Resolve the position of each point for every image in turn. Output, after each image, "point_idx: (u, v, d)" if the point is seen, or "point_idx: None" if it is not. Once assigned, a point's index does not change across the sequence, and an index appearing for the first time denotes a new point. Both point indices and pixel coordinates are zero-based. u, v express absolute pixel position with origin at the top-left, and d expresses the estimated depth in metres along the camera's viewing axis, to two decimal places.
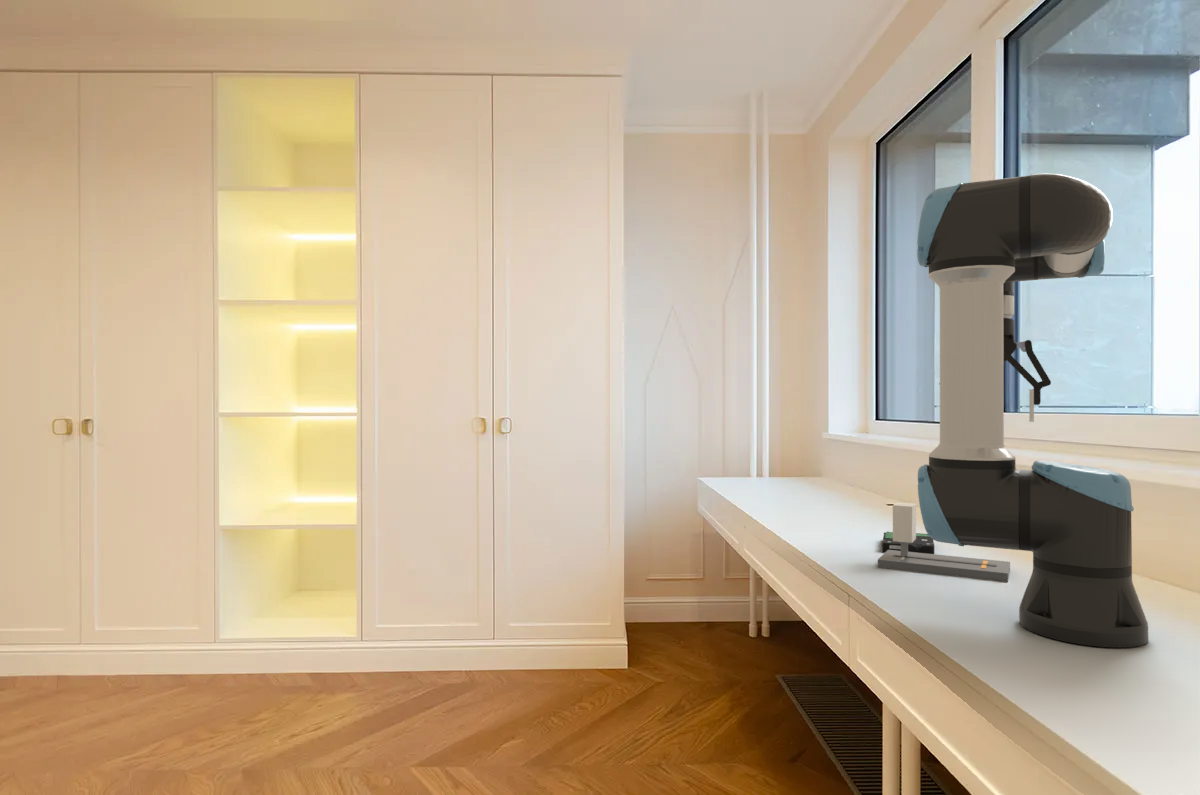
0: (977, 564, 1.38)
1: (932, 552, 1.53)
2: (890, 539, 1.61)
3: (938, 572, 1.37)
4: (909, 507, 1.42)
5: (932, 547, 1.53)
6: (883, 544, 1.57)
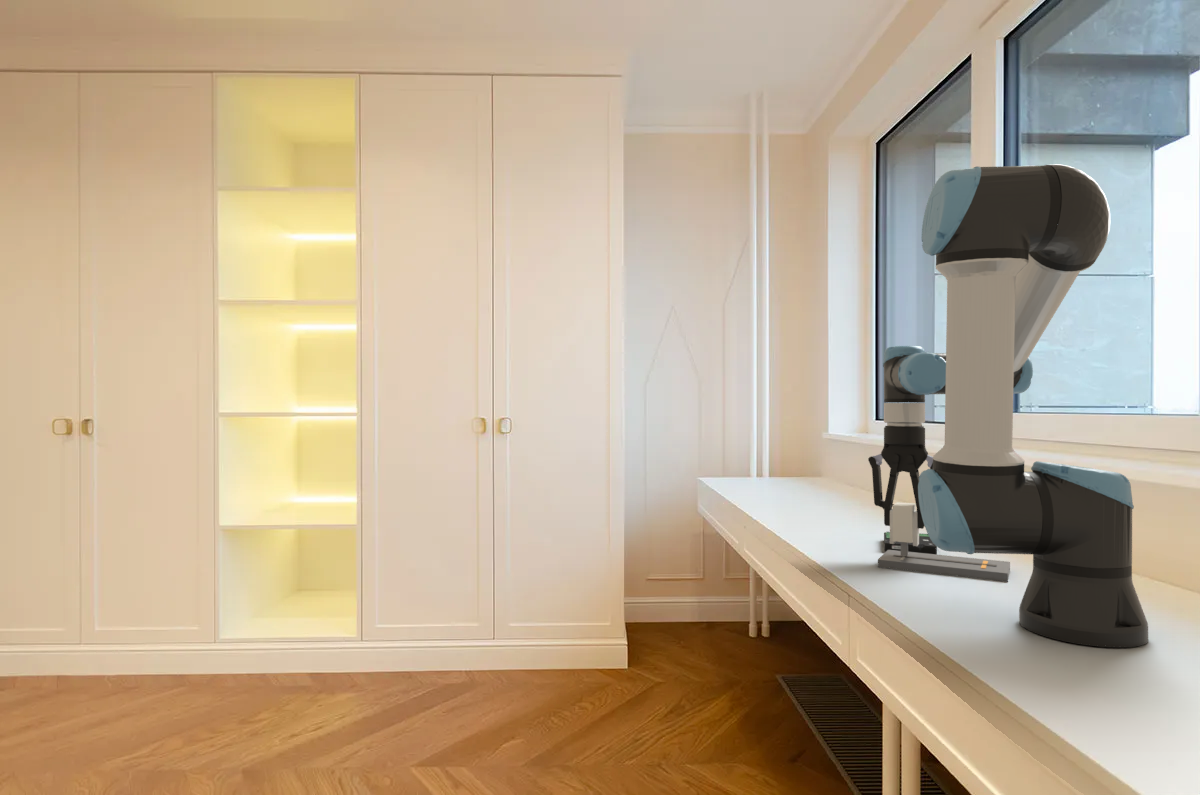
0: (977, 564, 1.38)
1: (935, 552, 1.53)
2: None
3: (938, 572, 1.37)
4: (909, 507, 1.42)
5: (935, 547, 1.53)
6: (885, 544, 1.56)
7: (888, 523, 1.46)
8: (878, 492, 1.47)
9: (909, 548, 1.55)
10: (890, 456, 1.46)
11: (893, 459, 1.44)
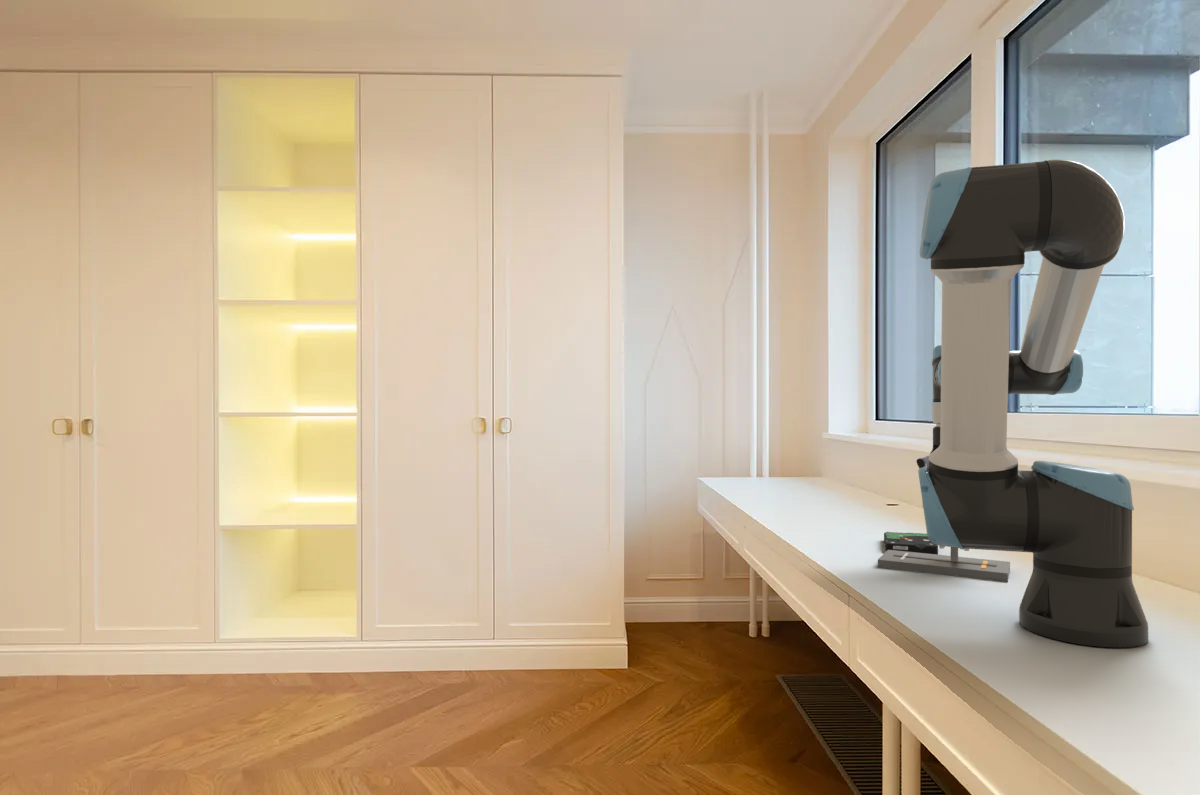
0: (977, 564, 1.38)
1: (936, 552, 1.53)
2: (892, 539, 1.61)
3: (938, 572, 1.37)
4: None
5: (936, 547, 1.53)
6: (887, 545, 1.56)
7: None
8: None
9: (910, 548, 1.55)
10: None
11: None
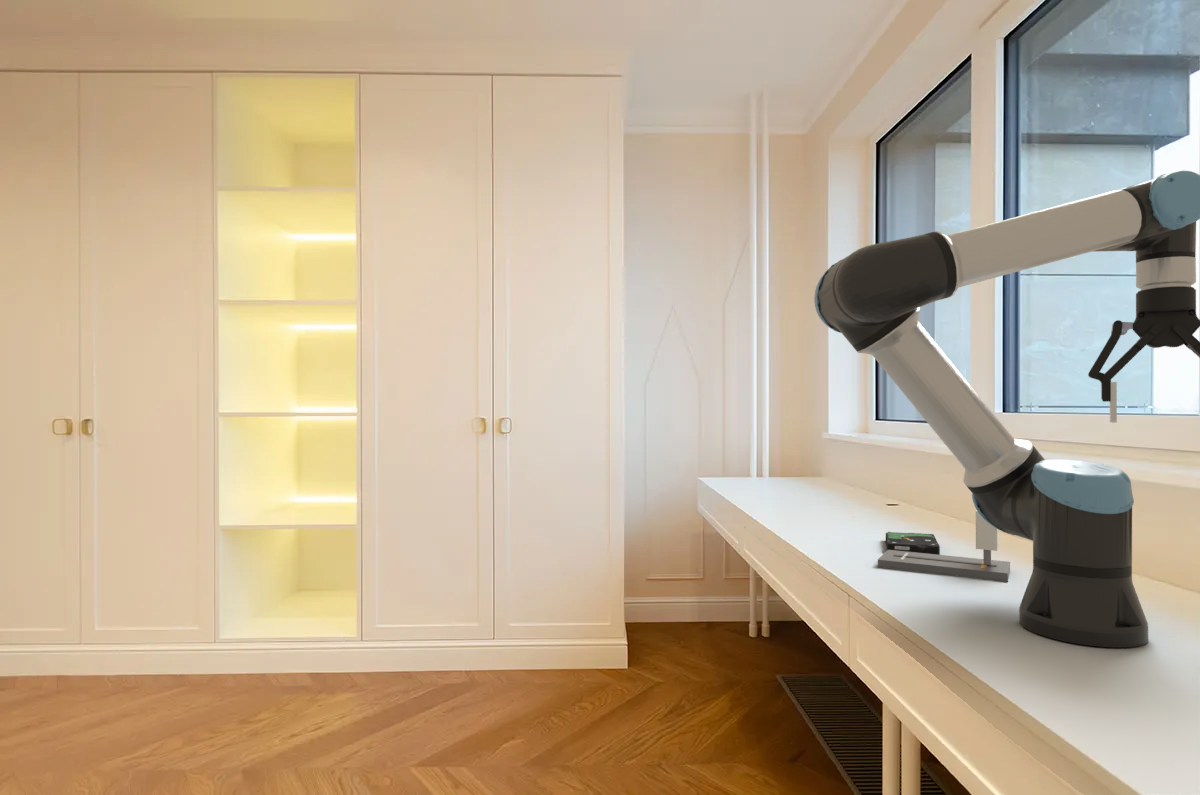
0: (977, 564, 1.38)
1: (937, 553, 1.53)
2: (894, 539, 1.61)
3: (938, 572, 1.37)
4: None
5: (937, 548, 1.53)
6: (888, 545, 1.56)
7: (1108, 398, 1.19)
8: (1102, 363, 1.19)
9: (912, 548, 1.54)
10: (1144, 330, 1.17)
11: (1152, 329, 1.15)
